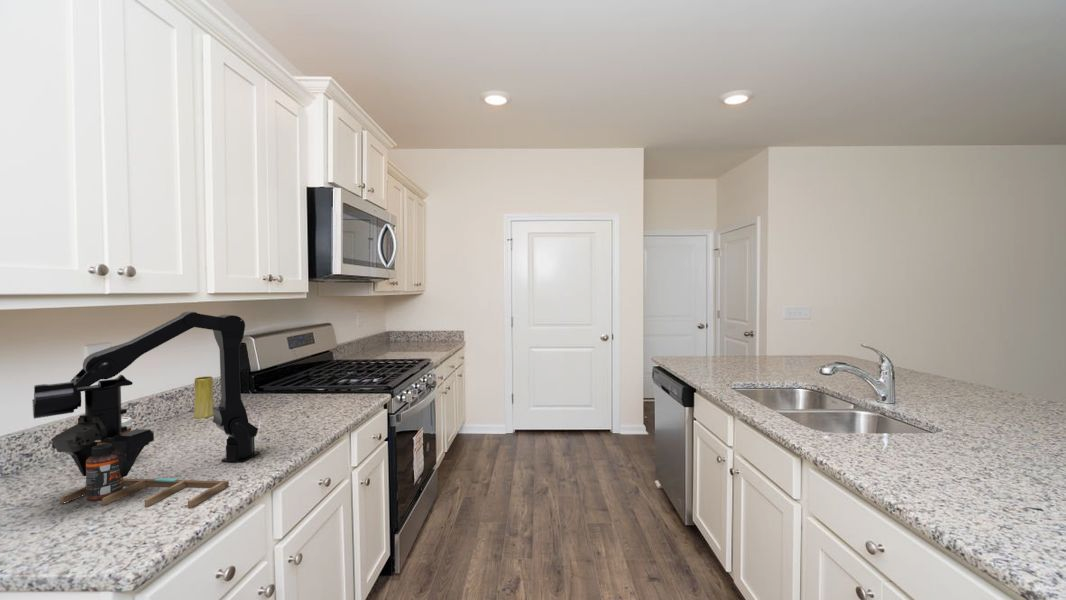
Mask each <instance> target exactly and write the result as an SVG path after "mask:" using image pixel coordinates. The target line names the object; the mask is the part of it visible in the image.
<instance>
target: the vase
mask: <svg viewBox="0 0 1066 600" xmlns="http://www.w3.org/2000/svg"><path fill="white" fill-rule="evenodd" d="M213 390H214V389H213V376H210V375H209V376H199V377H196V378H194V410H193V418H194V419H203V418H209V417H214V413H213V407H215V404H214V393H213V392H214V391H213Z"/></svg>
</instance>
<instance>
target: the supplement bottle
mask: <svg viewBox="0 0 1066 600" xmlns="http://www.w3.org/2000/svg"><path fill="white" fill-rule="evenodd" d="M114 450H115V449H114V447H113V446H112V443H105V444H100V445H96V446H94V447H92V452H91V453H92V456H90V457H89V458H88V459H87V460H86V476H85V487H86V495H85V497H86V499H87V500H91V501H92V500H93V501H96V500H102V498H104V497H106V496H108V495H111V494H113V493H115V492H117V491H120V490H122V489H124V485H123V478H124V477H121V475H120V471H119V461H118V456H117V455H116V454H114V453H113V452H112V451H114Z"/></svg>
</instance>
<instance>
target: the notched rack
mask: <svg viewBox="0 0 1066 600" xmlns="http://www.w3.org/2000/svg"><path fill="white" fill-rule="evenodd" d="M229 482H230V481H229V480H227V481H226V480H199V479H198V480H192V479H190V480H189V479H188V480H187V479H179V478H175V477H173V478H171V477H158V478H155V479H154V478H125V477H123V486H126V485H131V486H126V487H123V489H122V490H120V491H117V492H115V493H113V494H111V495H108V496H106V497H104V498H102V499H101V506H107V505H106V504H108V503H110V504H112V503H114V502H116V501H118V500H120V499H122V498H124V496H125V497H127V496H129V495H131V494H133V493H135V492H137V491H140V490H142V489H144V488H145V487H166V488H165V489H163V490H161V491H159V492H157V493H154V495H151V496H149V497H147V498H145V499H144V501H143V502H144V507H145V508H146V507H147V508H148V507H151V506H152V505H154V504H156V503H158V502H160V501H162V500H163V499H166V498H168V497H169V496H171V495H174V494H175V493H177V492H179V491H182V490H183V489H185V488H205V489H207V490H205V491H203V492H201V493H199V494H198V495H196V496H195V497H192V498H190V499H189V500H188V501H187V508H188V509H192V508H194V507H195V506H198V505H199V504H201V503H203V502H204V501H206V500H208V499H209V498H212V496H215V495H216V494H219V492H221V491H224V490H225V489H226V488H228V487H229ZM84 494H86V486H83V487H81V488H79V489H76V490H74V491H71V492H69V493H67V494H65V495H62V496H60V497H59V504H60V503H64V502H67V501H70V500H72V501H74V500H76V499H75V498H77V497H79V496H81V497H83V496H82V495H84ZM84 496H85V495H84ZM79 498H80V497H79ZM73 499H74V500H73ZM77 499H78V498H77ZM115 500H116V501H115ZM113 501H114V502H113ZM70 502H71V501H70ZM111 502H112V503H111ZM67 503H68V502H67ZM108 505H109V504H108Z"/></svg>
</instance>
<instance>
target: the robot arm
mask: <svg viewBox="0 0 1066 600" xmlns="http://www.w3.org/2000/svg"><path fill="white" fill-rule="evenodd" d="M194 328H196V329H204V330H205V329H206V330H211V331H213V336H214V339H215V341H216V344H217V346H218V348H219V370H220V372H219V373H220V395H221V397H220V399H221V400H220V402H219V404H218V405H219V406H214V407H213V413H214V415H213V419H212V420H211V421H212V423H214V424H215V425H216V427H217V429H220V430H221V431H223V432H224V434H225V435H227V436H228V437H227V438H226V445H225V457H224V458H222V459H221V462H225V463H226V462H227V463H231V462H232V463H245V462H247V461H248V460H250V459H252V458H254V457H255V456H257V455H260V453H261V451H259V450H257V451H256V449H255V437H256V436H257V434H258V432H259V428H258V427H257V426H255V425H253V424H252V423H250V422H249V416H248V414H247V409H246V406H245V405H244V402H243V401H242V393H241V392H242V391H241V388H242V387H241V363H240V362H241V361H240V359H241V358H240V347H241V344H242V342H243V339H244V336H245V330H246V322H245V321H244V319H243V318H242V317H240V316H238V315H230V314H220V315H218V316H216V315H215V316H214V315H209V314H203V313H198V312H195V311H185V312H182V313H181V314H180V315H178V316H176V317H174V318H173V319H170V320H168V321H166V322H165V323H163V324H160V325H159V326H157V327H155V328H153V329H151V330H149V331H146V332H145V333H143V334H141V335H138V336H137V337H135V338H133V339H131V340H128V341H127V342H123V343H121V344H117V345H114V346H109V347H107V348H105V349H102V350H98V351H95V352H93V353H90V354H89V355H87V356H86V357H85V359H84V360H83V362H82V369H80V371H79V372H78V373H77V374H76V375H74V376H73V378H72V379H71V380H70V381H68V382H59V383H52V384H50V383H49V384H47V383H43V384H35V385H34V386H33V399H32V416H33V417H32V418H33V419H40V418H47V417H53V416H60V415H67V414H72V413H75V410H77V409H78V408H81V407H82V392H84V414H81V415H79V417H78V418H77V424H76V425H73V426H70V427H69V428H66V429H65V430H63V431H62V432H59V433H58V434H56V435H55V436H53V437H52V438H51V439H50V441H51V447H52V449H55V450H56V452H57V453H64V454H67V455H70V456H71V458H72V460H73V461H74V463H75V464H76V466H77V468H78V470H79V472H80V473H81V475H82V476H83V477H86V460H87V459H88V458H89V457H90V456H92V453H91V452H92V447H94V446H96V445H97V443H112V446H113V447H114V449H115V450H114V451H112V452H113V453H114V454H116V455H117V456H118V461H119V471H120V475H121V477H123V478H125V477H127V476H128V474H129V473H130V471H131V470H132V467H133V466H134V463H135V462H136V460H137V459H138V456H139V455H140V454H141V452H142V451H143V449H144V448H145V447H146V446H148V445H149V444H150V443H151V442H154V441H155V432H154V431H153V430H152V429H144V428H143V429H142V428H141V429H139V428H137V429H133V430H131V431H130V432H126V433H123V434H121V432H124V431H127V426H122V417H123V416H122V415H124V414H127V413H128V412H127V411H128V409H127V408H122V387H126V386H132V385H133V381H131V380H129V379H127V378H126V377H125V376H124V375H123V374H120V373H121V372H122V371H124V370H126V369H127V368H128V367H129V366H131V365H133V363H134V362H135V361H136V360H137V359H138V358H140V357H142V355H144V354H146V353H148V352H150V351H152V350H154V349H155V348H158V347H159V346H161V345H164V343H165V344H166V343H168V341H171V340H172V339H175V338H176V337H178V336H180V335H181V334H184V333H185V332H187V331H189V330H191V329H194ZM119 374H120V375H119ZM117 375H118V377H116V376H117ZM114 377H116V378H114ZM112 378H113V379H112ZM95 383H97V384H95ZM93 384H94V385H93ZM109 438H111V439H109Z"/></svg>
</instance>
